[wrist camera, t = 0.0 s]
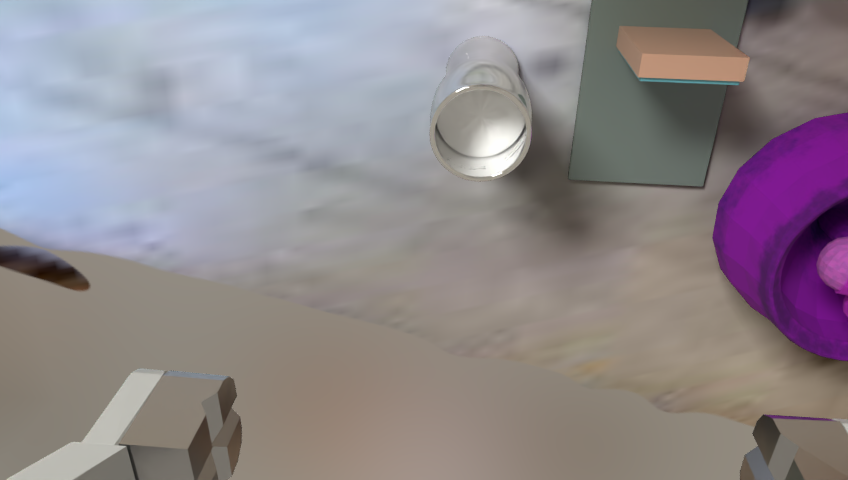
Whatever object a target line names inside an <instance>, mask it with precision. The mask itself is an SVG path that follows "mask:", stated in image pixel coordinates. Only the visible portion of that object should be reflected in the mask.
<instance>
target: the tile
mask: <svg viewBox="0 0 848 480" xmlns="http://www.w3.org/2000/svg"><path fill="white" fill-rule="evenodd" d="M616 47H617V48H618V50H619V52H620V54H621V55H622V57H623V58H624V59H625V61H626V62H627V64H628V65H629V66H630V68H631V69H632V71H633V72H634V74H635V75H636V76H637V78H638V79H639V81H651V82H675V83H699V84H723V85H739V82H744V79H745V75H746V71H747V67H748V63H749V60H750V58H749V57H748V56H747V55H745V54H744V53H743V52H741V51H740V50H738V49H737V48H736V47H734V46H733V45H732V44H730V43H729V42H727V41H726V40H725V39H723V38H722V37H721V36H719V35H718V34H716V33H715V32H714V31H712V30H711V29H691V28H664V27H636V26H619V32H618V38H617V44H616Z"/></svg>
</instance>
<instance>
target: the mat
mask: <svg viewBox="0 0 848 480" xmlns="http://www.w3.org/2000/svg"><path fill="white" fill-rule="evenodd" d="M747 3H748V0H592V3H591V10H590V18H589V25H588V33H587V40H586V47H585V55H584V62H583V70H582V77H581V84H580V92H579V99H578V107H577V114H576V121H575V129H574V136H573V144H572V151H571V158H570V166H569V173H568V179H569V180H586V181H605V182H625V183H644V184H664V185H683V186H703V184H704V180H705V176H706V172H707V167H708V163H709V159H710V155H711V151H712V147H713V143H714V139H715V135H716V131H717V126H718V122H719V118H720V114H721V110H722V106H723V102H724V98H725V94H726V90H727V85H723V84H699V83H675V82H651V81H639V79H638V78H637V76H636V75H635V74H634V72H633V71H632V69H631V68H630V66H629V65H628V64H627V62H626V61H625V59H624V58H623V57H622V55H621V54H620V52H619V50H618V48H617V47H616V44H617V38H618V32H619V26H636V27H664V28H691V29H711V30H712V31H714V32H715V33H716V34H718V35H719V36H721V37H722V38H723V39H725V40H726V41H727V42H729V43H730V44H732V45H733V46H734V47H736V48H737V44H738V40H739V36H740V32H741V28H742V24H743V20H744V16H745V12H746V7H747Z"/></svg>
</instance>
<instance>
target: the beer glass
mask: <svg viewBox="0 0 848 480" xmlns="http://www.w3.org/2000/svg"><path fill="white" fill-rule="evenodd" d="M531 138H532V108H531V102H530V98H529V94H528V91H527V89H526V86H525V84H524V83H523V81H522V80H521V78H520V77H519V66H518V61H517V58H516V56H515V54H514V53H513V51H512V50H511V49H510V47H509V46H508V45H506V44H505V43H504V42H502V41H501V40H499V39H496V38H493V37H489V36H477V37H473V38H470V39H467V40H465V41H464V42H462V43H461V44H459V45H458V46H457V47H456V48H455V49H454V51H453V52H452V53H451V55H450V57H449V59H448V62H447V66H446V75H445V77H444V78H443V79H442V81H441V82H440V84H439V85H438V87H437V90H436V92H435V95H434V98H433V101H432V106H431V113H430V143H431V147H432V150H433V152H434V154H435V156H436V158H437V159H438V161H439V162H440V163H441V165H442V166H443V167H444V168H445V169H447V170H448V171H449V172H451V173H452V174H454V175H456V176H458V177H460V178H462V179H466V180H470V181H479V182H481V181H491V180H495V179H498V178H501V177H503V176H505V175H507V174H508V173H510V172H511V171H513V170H514V169H515V168H516V167H517V166H518V165H519V164H520V163H521V162H522V160H523V159H524V158H525V156H526V154H527V152H528V150H529V147H530V144H531Z"/></svg>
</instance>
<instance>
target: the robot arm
mask: <svg viewBox="0 0 848 480" xmlns="http://www.w3.org/2000/svg"><path fill="white" fill-rule="evenodd" d="M236 397H237V393H236V388H235V383H234V380H233V379H232V378H231V377H229V376H219V375H210V374H199V373H189V372H178V371H161V370H151V369H141V368H139V369H137V370H136V371H134V372H132V373H131V374H130V375H129V377H128V378H127V379H126V381H125V382H124V383H123V385H122V386H121V388H120V389H119V390H118V392H117V394H116V395H115V396H114V397H113V399H112V400H111V402H110V403H109V405H108V406H107V407H106V409H105V410H104V412H103V413H102V414H101V416H100V417H99V419H98V420H97V421H96V423H95V424H94V426H93V427H92V429H91V430H90V431H89V433H88V434H87V435H86V437H85V438H84V440H83V441H82V442H71V443H69V444H67V445H66V446H64V447H62V448H61V449H59V450H57V451H55V452H53V453H52V454H50V455H48V456H46V457H45V458H43V459H41V460H39V461H38V462H36V463H34V464H32V465H30V466H29V467H27V468H25V469H23V470H22V471H20V472H18V473H16V474H15V475H13V476H11V477H9V478H8V479H6V480H228V479H229V478H230V477H232V475H233V472H234V470H235V467H236V465H237V462H238V458H239V453H240V448H241V443H242V425H241V419H240V416H239V415H238V414H237V413H236V412H235V411H234V410H233V409H232V405H233V403H234V401H235V399H236ZM753 436H754V438H755V440H756V442H757V445H758V446H757V447H756V448H754V449H753V450H751V451H750V452H749V453H747V454H746V455H745V456H744V460H743V463H742V466H741V470H740V480H848V419H825V418H810V417H794V416H779V415H762V416H761V418H760V419H759V420H758V421H757V423H756V425H755V428H754V431H753Z"/></svg>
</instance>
